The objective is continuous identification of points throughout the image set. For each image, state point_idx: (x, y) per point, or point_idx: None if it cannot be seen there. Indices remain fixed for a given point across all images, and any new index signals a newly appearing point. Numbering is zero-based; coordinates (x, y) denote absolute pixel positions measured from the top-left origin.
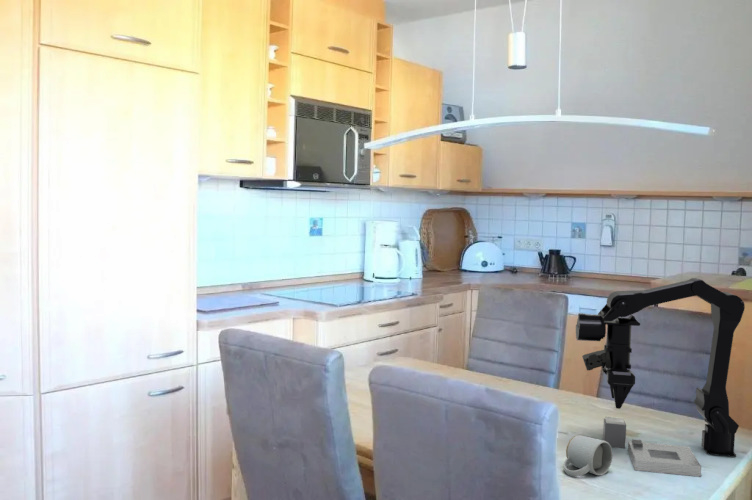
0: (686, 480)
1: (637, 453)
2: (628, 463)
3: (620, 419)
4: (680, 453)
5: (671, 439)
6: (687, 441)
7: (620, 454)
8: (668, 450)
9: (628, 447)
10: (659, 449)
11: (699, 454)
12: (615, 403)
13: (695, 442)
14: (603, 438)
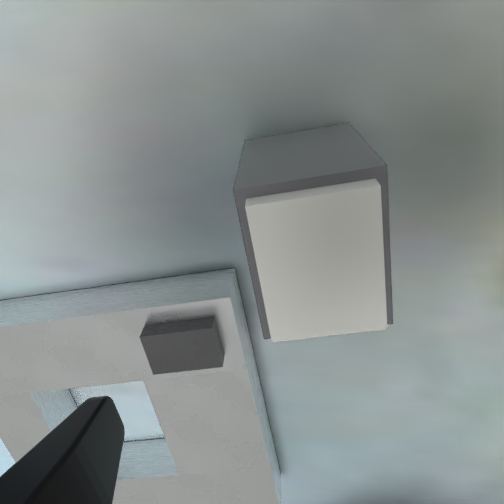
0: (5, 454)
1: (44, 341)
2: (42, 276)
3: (341, 311)
4: (167, 486)
5: (496, 432)
6: (483, 478)
7: (153, 235)
8: (181, 452)
9: (216, 282)
10: (174, 423)
11: (323, 500)
12: (38, 445)
13: (477, 499)
14: (311, 136)
